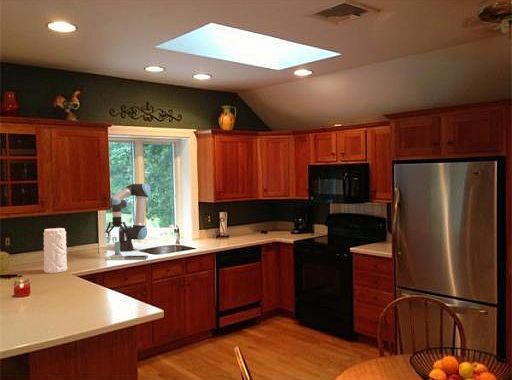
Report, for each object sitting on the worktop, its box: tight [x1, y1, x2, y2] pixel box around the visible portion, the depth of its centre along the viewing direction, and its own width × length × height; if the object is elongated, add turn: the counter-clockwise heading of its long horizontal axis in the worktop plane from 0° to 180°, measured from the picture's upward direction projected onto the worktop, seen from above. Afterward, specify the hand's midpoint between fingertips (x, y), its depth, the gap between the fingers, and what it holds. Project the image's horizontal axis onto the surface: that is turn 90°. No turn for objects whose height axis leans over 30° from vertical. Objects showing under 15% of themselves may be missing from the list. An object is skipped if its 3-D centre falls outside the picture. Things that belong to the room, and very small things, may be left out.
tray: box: [104, 255, 127, 261], centre depth 381 cm, size 11×16×3 cm
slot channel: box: [123, 254, 149, 261], centre depth 381 cm, size 9×18×3 cm, turn 91°
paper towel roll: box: [42, 227, 68, 274], centre depth 340 cm, size 17×16×32 cm
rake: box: [113, 241, 122, 255], centre depth 392 cm, size 5×4×14 cm
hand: (117, 240), depth 392 cm, fingers open, 13 cm apart
